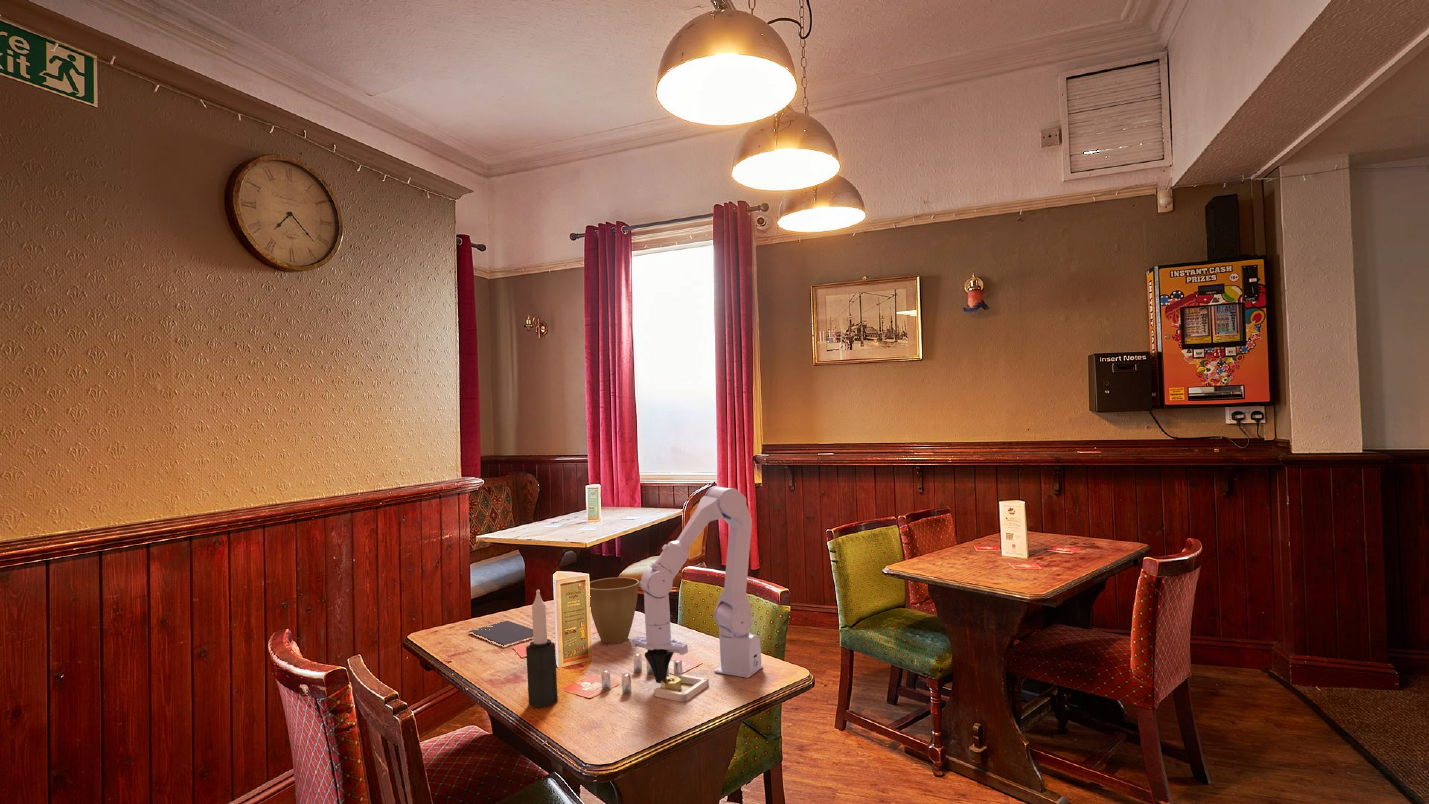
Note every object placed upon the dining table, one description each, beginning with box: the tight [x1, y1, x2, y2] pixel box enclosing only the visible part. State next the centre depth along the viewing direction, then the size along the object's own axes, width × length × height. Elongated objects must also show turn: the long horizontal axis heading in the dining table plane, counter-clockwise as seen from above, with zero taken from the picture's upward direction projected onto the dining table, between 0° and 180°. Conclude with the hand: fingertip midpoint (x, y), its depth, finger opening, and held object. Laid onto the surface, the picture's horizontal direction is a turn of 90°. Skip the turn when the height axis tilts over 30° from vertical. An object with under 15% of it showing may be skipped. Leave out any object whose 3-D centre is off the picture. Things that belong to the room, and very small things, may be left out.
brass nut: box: [660, 676, 682, 692], centre depth 158 cm, size 4×5×2 cm
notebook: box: [468, 620, 533, 646], centre depth 205 cm, size 13×2×21 cm
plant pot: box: [589, 577, 640, 645], centre depth 196 cm, size 15×15×16 cm
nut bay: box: [654, 674, 710, 703], centre depth 156 cm, size 8×10×2 cm
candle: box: [525, 589, 559, 710], centre depth 154 cm, size 5×5×25 cm
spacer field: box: [600, 652, 684, 696], centre depth 162 cm, size 14×14×4 cm
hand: (660, 681), depth 159 cm, fingers closed
